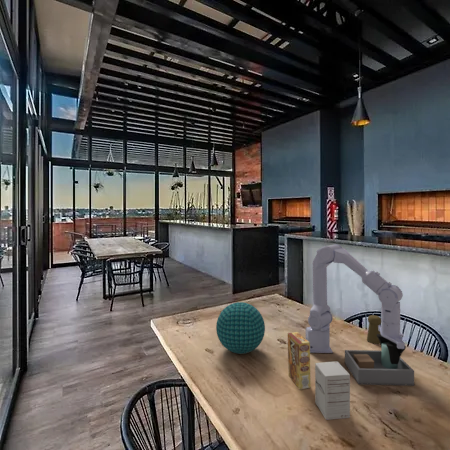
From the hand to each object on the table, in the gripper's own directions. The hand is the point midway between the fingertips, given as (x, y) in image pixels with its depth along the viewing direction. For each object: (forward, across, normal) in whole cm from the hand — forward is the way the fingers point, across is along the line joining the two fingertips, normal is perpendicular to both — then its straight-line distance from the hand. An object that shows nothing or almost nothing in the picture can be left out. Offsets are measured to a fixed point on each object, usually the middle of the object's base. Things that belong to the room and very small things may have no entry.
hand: (390, 359), depth 102 cm
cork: (+5, +26, -6) cm, 27 cm away
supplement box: (+5, -20, +26) cm, 33 cm away
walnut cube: (+4, 0, +9) cm, 10 cm away
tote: (+5, 0, +4) cm, 7 cm away
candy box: (+5, -6, +32) cm, 33 cm away
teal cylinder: (+2, 0, 0) cm, 2 cm away
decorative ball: (+5, +15, +52) cm, 55 cm away
